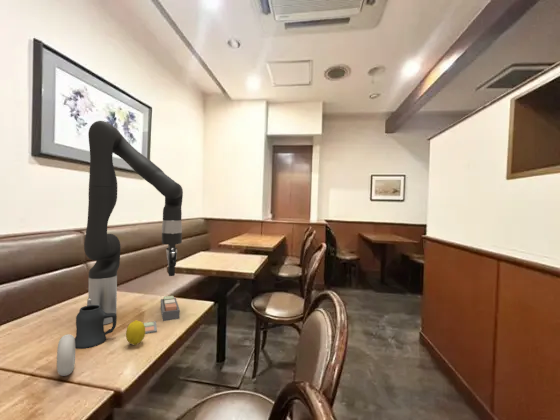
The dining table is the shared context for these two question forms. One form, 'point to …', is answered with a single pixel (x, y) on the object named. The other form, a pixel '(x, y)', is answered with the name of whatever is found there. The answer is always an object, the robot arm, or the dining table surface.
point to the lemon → (135, 332)
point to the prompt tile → (150, 327)
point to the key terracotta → (170, 307)
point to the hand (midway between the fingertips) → (171, 274)
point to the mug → (92, 326)
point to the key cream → (169, 302)
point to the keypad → (170, 312)
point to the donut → (66, 355)
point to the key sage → (168, 298)
